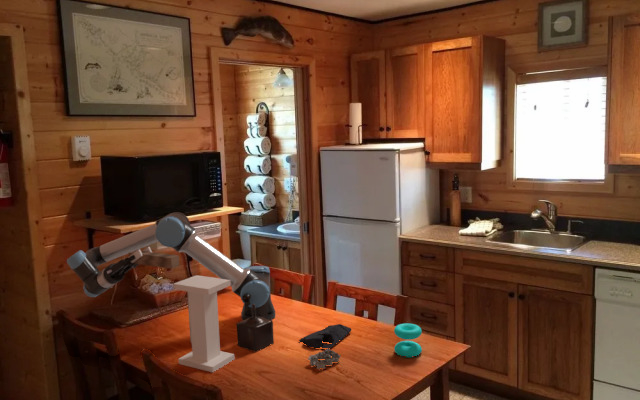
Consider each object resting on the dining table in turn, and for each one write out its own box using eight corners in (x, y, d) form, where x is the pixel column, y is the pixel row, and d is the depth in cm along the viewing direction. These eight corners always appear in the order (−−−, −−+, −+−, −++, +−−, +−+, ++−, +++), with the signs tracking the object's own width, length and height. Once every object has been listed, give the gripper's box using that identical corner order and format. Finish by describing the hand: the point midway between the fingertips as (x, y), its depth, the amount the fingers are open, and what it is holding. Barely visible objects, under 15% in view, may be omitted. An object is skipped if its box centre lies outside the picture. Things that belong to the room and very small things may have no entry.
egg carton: (319, 372, 189) (319, 361, 188) (306, 365, 194) (306, 354, 194) (342, 363, 195) (342, 352, 195) (329, 356, 201) (328, 346, 200)
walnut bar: (129, 262, 210) (128, 252, 209) (137, 260, 213) (136, 250, 213) (171, 268, 199) (171, 258, 198) (179, 266, 202) (178, 255, 202)
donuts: (410, 320, 207) (427, 328, 198) (410, 345, 208) (427, 354, 200) (388, 325, 202) (404, 334, 194) (389, 351, 204) (405, 361, 195)
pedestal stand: (178, 363, 198) (173, 283, 194) (201, 351, 208) (196, 275, 204) (213, 372, 190) (208, 289, 186) (234, 359, 201) (230, 280, 196)
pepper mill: (275, 342, 215) (274, 298, 212) (255, 352, 206) (253, 306, 204) (248, 334, 224) (246, 291, 222) (228, 342, 216) (225, 299, 213)
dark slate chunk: (358, 334, 222) (357, 323, 221) (325, 353, 204) (325, 341, 204) (327, 327, 231) (327, 316, 230) (294, 344, 214) (294, 333, 213)
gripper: (132, 278, 226) (166, 255, 214) (97, 289, 211) (132, 265, 199) (124, 262, 227) (158, 238, 215) (89, 272, 212) (123, 247, 200)
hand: (145, 251), depth 207 cm, fingers closed on walnut bar, 4 cm apart
